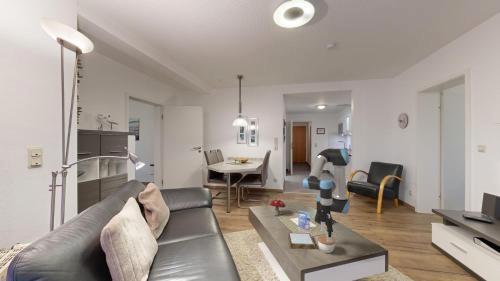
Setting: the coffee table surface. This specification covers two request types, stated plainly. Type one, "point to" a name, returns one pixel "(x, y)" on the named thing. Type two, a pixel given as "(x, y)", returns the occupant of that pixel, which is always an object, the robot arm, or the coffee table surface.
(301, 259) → the coffee table surface
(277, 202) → the decorative mushroom
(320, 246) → the lidded jar
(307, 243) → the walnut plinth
